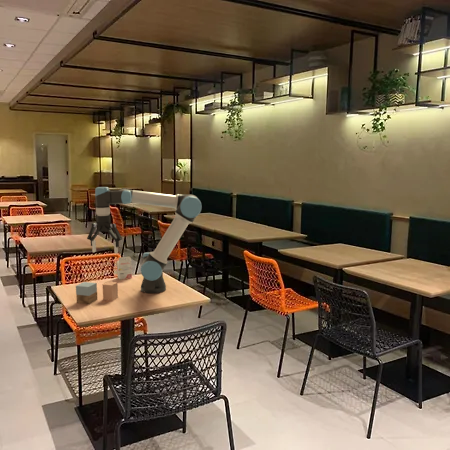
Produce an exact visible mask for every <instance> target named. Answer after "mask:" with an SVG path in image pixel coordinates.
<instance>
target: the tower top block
mask: <svg viewBox="0 0 450 450" xmlns="http://www.w3.org/2000/svg"><path fill="white" fill-rule="evenodd" d="M95 292H97V293H98V287H97V282H89V281H88V282H87V281H83V282H81V283H79V284H77V285H75V295H85V296H90V295H92V294H94V293H95Z"/></svg>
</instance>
